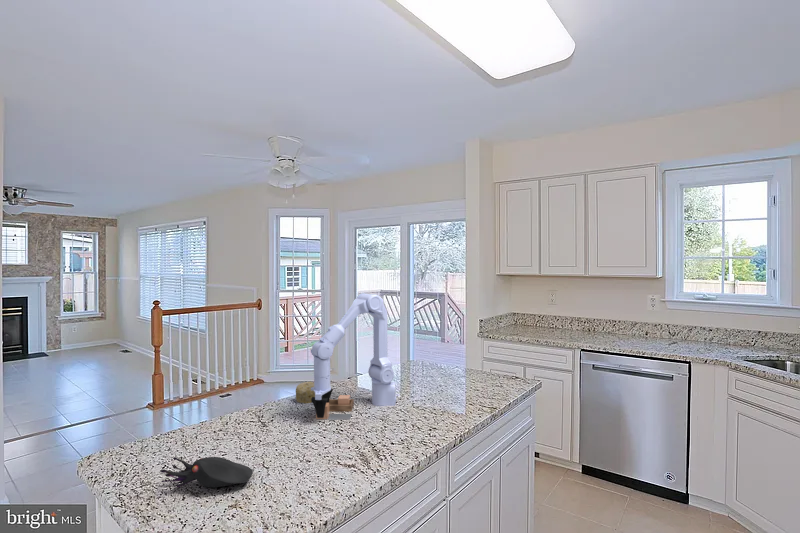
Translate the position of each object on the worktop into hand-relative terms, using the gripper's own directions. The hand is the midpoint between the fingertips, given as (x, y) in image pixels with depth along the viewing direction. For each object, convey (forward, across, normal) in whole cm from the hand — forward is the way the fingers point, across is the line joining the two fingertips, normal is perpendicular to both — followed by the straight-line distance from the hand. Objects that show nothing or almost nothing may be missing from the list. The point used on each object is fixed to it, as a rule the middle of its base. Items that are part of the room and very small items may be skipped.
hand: (322, 413), depth 151 cm
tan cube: (+1, 0, 0) cm, 1 cm away
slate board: (+2, 0, +4) cm, 5 cm away
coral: (+2, -18, -10) cm, 21 cm away
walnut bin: (+2, -9, +4) cm, 10 cm away
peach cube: (+2, -9, +6) cm, 11 cm away
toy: (+3, +44, -20) cm, 48 cm away
